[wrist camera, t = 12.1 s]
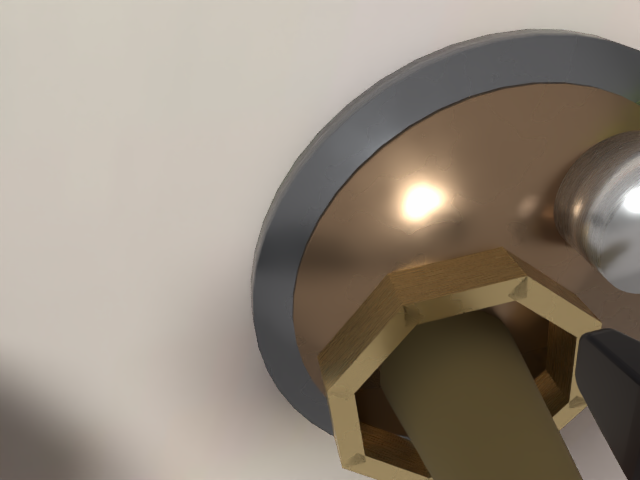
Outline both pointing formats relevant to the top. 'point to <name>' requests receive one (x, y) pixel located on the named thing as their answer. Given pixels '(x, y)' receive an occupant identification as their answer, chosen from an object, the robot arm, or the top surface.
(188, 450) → the top surface
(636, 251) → the carrier plate
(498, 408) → the olive pestle
